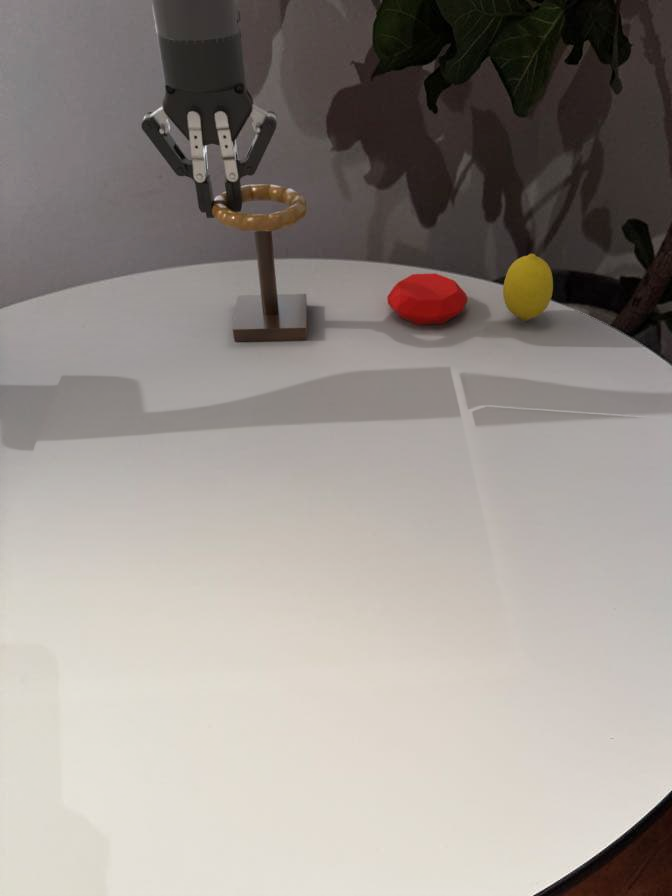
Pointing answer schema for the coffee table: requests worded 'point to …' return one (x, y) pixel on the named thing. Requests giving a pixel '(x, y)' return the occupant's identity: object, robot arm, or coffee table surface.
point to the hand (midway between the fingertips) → (222, 214)
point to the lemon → (528, 287)
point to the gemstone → (427, 299)
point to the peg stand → (269, 304)
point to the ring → (261, 220)
